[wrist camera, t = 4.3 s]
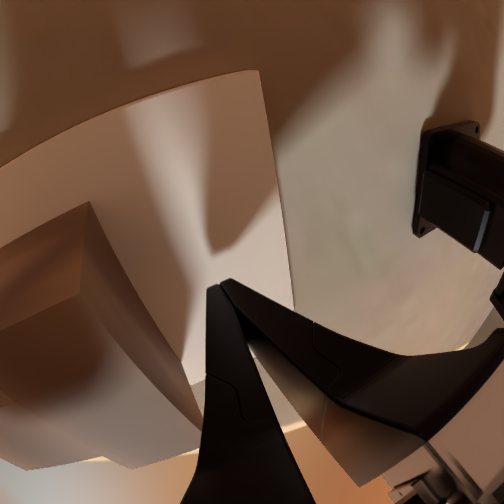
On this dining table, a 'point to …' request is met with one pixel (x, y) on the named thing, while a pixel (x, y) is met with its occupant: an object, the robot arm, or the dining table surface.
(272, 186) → the board
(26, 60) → the dining table surface
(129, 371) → the walnut T block
